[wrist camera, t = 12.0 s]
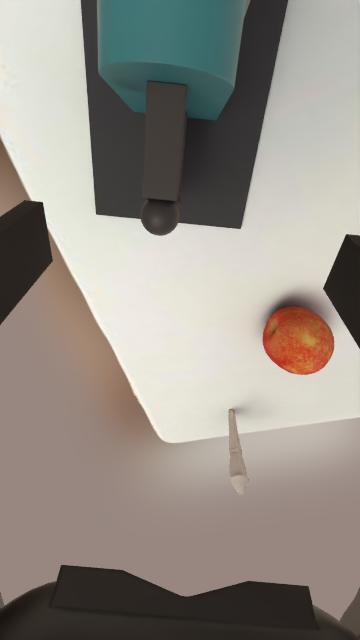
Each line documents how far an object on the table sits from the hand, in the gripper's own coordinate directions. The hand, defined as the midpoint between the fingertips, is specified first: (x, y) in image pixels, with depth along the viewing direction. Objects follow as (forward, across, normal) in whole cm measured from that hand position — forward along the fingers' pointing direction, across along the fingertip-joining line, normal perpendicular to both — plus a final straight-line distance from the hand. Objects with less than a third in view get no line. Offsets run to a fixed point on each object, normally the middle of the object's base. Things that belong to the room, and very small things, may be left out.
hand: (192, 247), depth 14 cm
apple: (+22, +15, -18) cm, 32 cm away
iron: (+13, -2, +10) cm, 17 cm away
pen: (+21, +11, -38) cm, 45 cm away
